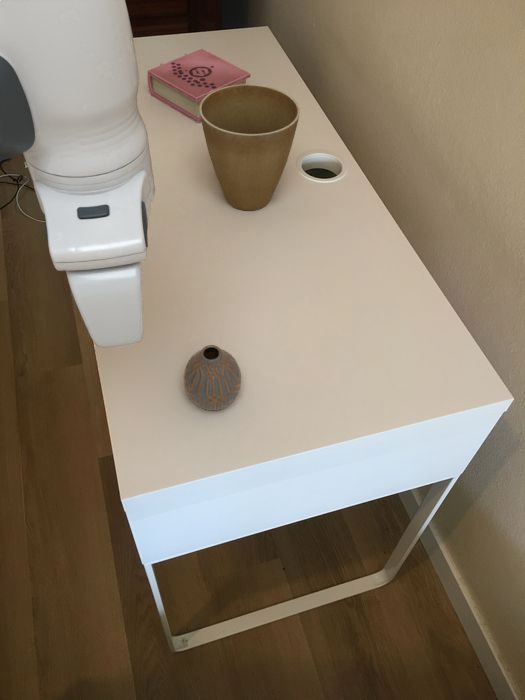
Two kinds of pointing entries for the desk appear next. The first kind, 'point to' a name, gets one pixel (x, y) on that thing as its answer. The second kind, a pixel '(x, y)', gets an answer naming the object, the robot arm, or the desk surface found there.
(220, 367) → the vase
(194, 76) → the book
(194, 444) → the desk surface
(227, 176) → the plant pot
